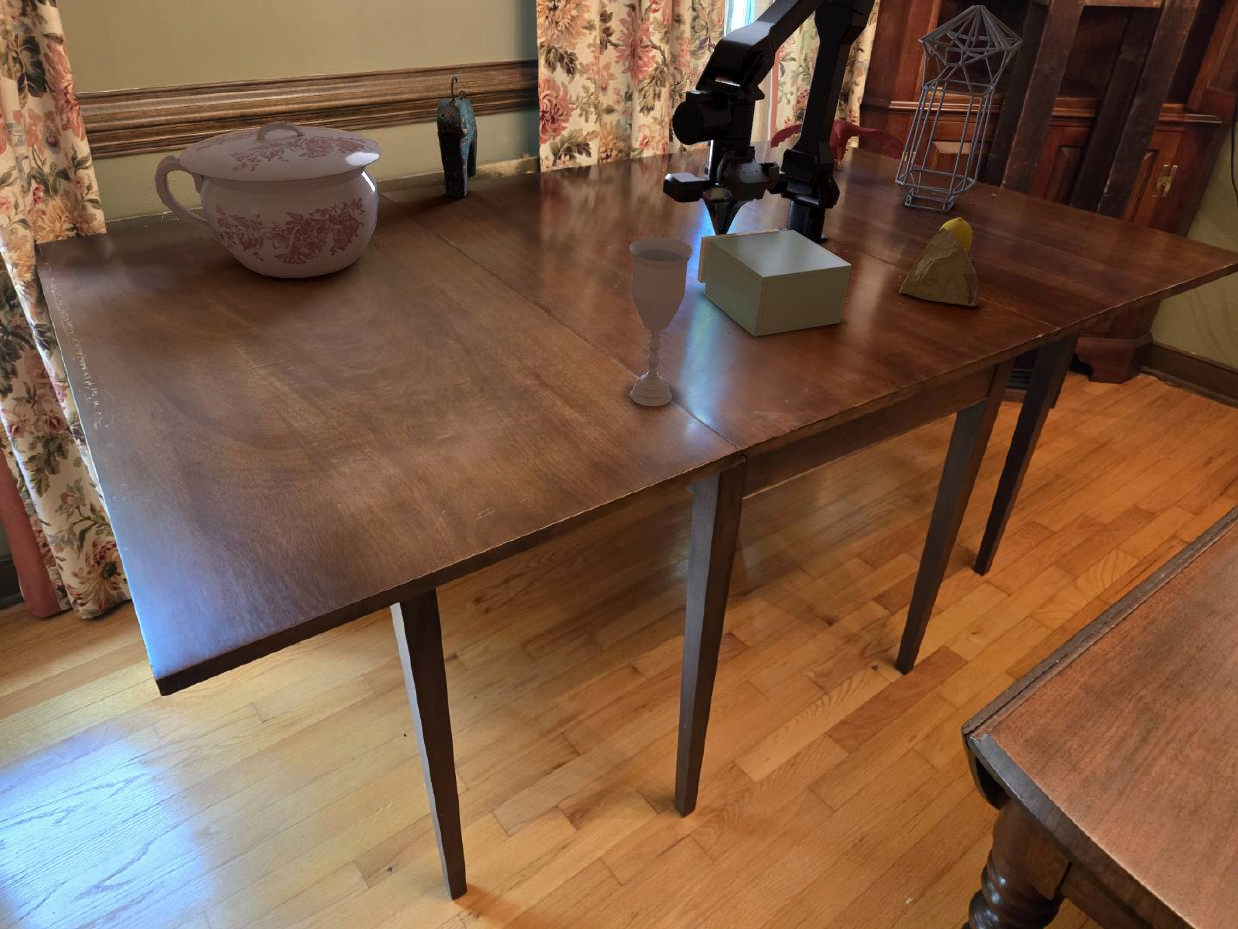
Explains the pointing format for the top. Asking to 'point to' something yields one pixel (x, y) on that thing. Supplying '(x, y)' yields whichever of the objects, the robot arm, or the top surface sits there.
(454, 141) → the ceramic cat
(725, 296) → the cabinet
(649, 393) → the chalice
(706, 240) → the drawer
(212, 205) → the chamber pot
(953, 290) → the rock
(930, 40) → the geometric lantern
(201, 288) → the top surface
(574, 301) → the top surface
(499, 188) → the top surface
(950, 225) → the lemon
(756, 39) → the robot arm
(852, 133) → the decorative bird sculpture
